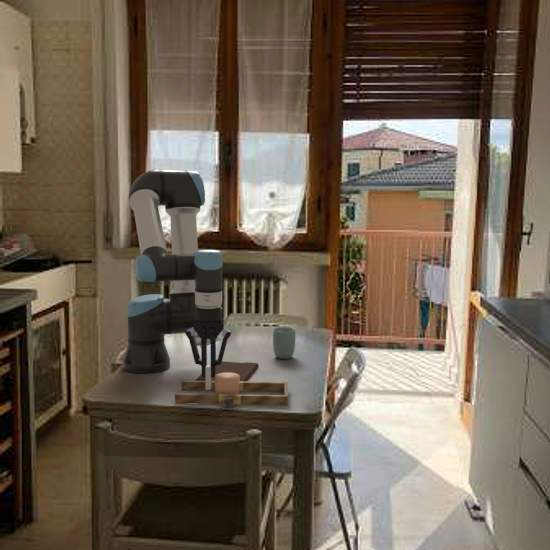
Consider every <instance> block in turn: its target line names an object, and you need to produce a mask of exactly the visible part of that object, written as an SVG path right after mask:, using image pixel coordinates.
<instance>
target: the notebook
mask: <svg viewBox="0 0 550 550" xmlns="http://www.w3.org/2000/svg"><path fill="white" fill-rule="evenodd" d="M258 368H259V364H258V363H257V362H250V361H249V362H237V361H236V362H235V361H225V360H224V361H223V360H222V363H221V364H220V365H216V375H217V374H219V373H227V372H229V373H236V374H238V375H239V376H240V382H248V380H249V379H250V378H251V377H252V376H253V375H254V374H255V372H256V371H257V370H258ZM194 381H206V378H205V377H202V373H201V374H200V375H199V376H198V377H197V378H196V379H195V380H194ZM212 381H215V377H212Z"/></svg>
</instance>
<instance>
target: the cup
mask: <svg viewBox="0 0 550 550" xmlns="http://www.w3.org/2000/svg"><path fill="white" fill-rule="evenodd" d="M272 348H273V353H274V355H275V357H276V358H277V359H280V360H288V359H291V358H292V357H293V355H294V353H295V349H296V329H295V328H293V327H289V326H288V327H287V326H279V327H275V328H273V329H272Z"/></svg>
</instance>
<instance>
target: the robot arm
mask: <svg viewBox="0 0 550 550" xmlns="http://www.w3.org/2000/svg"><path fill="white" fill-rule="evenodd" d="M204 184H205V183H204V181H203V178H202V175H201V174H200V173H199V172H198V171H195V170H187V169H184V170H181V169H180V170H177V169H176V170H175V169H174V170H173V169H172V170H171V169H170V170H168V169H165V170H161V169H160V170H159V169H152V170H147V171H146V172H144V173H142V174H141V175H139V176H138V177H136V179H135V180H134V181H133V183H132V185H131V187H130V189H129V191H128V203H129V207H130V209H131V210H132V211H133V213H134V214H133V215H134V219H135V225H136V232H137V238H138V243H139V251H140V255H137V256H136V257H135V275H136V277H135V278H136V280H137V281H139V282H145V283H146V282H147V283H149V282H150V283H155V282H171V281H172V282H173V288H172V289H171V290H170V292H169V293H168V295H169V298H165V297H164V295H163V294H160V293H156V294H155V293H154V294H151V293H149V294H145V295H139V296H136V297H133V298H132V299H130V300H129V301H128V303H127V304H126V305H127V311H126V317H127V347H126V350H125V352H124V353H125V354H124V356H123V360H122V368H123V370H124V371H125V372H128V373H133V374H151V373H158V372H162V371H165V370H168V369H169V368H170V367H171V358H170V355H169V352H168V349H167V346H166V343H165V335H174V334H175V335H176V334H185V336H186V337H187V339H188V340H189V345H190V348H191V351H192V357H193V359H194V360H193V361H194V364H195V365H198V366H200V367H201V374H202V377H205V378H206V390H205V391H212V390H211V388H212V377H215V375H216V365H220V364H221V363H222V361H223V359H224V355H225V352H226V347H227V344H228V343H227V342H228V340H229V338H230V337H231V334H232V330H231V329H227V328H226V327H225V325H224V323H223V307H222V304H223V264H224V263H223V254H222V252H221V251H220V250H216V249H198V248H199V247H198V229H197V215H198V214H199V213H200V211H201V207H202V206H204V205H205V203H206V189H205V185H204ZM160 206H163V207H164V211H165V213H166V214H167V215H169V217H170V219H169V220H170V237H171V254H168V249H167V248H168V247H167V244H166V240H165V236H164V235H165V234H164V229H163V225H162V221H161V215H160V211H159V207H160ZM195 332H196V333H197V334H198V335H199V337H200V338H201V348H200V349H201V352H199V349H198V346H197V344H196V340H195V337H194V335H195ZM221 333H222V337H223V339H222V340H221V344H220V348H219V352H218V353H219V354H218V357H217V342H216V338H217V337H219V335H220V334H221ZM207 339H210V343H211V344H210V364H208V356H207V355H208V353H207V351H208V346H207ZM200 354H201V355H200Z"/></svg>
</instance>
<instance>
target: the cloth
mask: <svg viewBox="0 0 550 550" xmlns="http://www.w3.org/2000/svg"><path fill="white" fill-rule="evenodd" d="M194 337H195V340H196V344H197V347H198V346H199V347H200V349H201V338H200V337H199V335H198V334H197V333H196V332H195V335H194ZM219 341H222V338H219V336H218V337H217V338H216V343H217V342H219ZM209 345H210V346H211V343H210V339H207V347H208V346H209Z"/></svg>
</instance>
